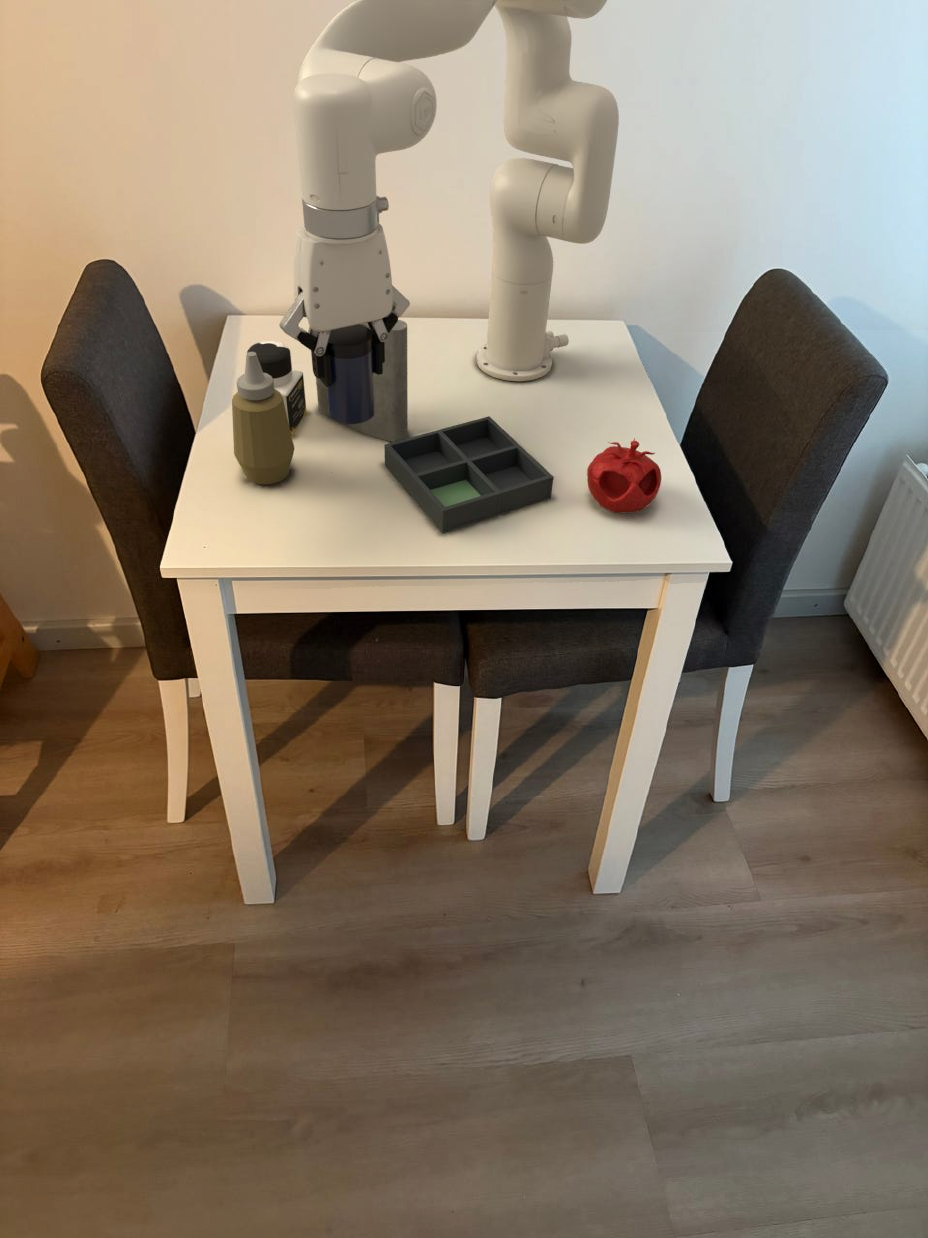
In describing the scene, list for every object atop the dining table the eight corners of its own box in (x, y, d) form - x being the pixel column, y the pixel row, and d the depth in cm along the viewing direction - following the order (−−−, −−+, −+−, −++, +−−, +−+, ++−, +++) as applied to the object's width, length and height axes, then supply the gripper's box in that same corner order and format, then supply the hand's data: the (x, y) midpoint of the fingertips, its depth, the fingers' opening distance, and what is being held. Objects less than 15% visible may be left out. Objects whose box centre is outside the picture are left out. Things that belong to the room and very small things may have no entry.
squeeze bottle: (270, 497, 120) (253, 376, 107) (225, 477, 123) (204, 357, 110) (308, 469, 125) (297, 350, 112) (264, 450, 128) (248, 332, 115)
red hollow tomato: (578, 478, 126) (587, 421, 120) (647, 478, 127) (660, 421, 120) (590, 521, 119) (600, 463, 113) (663, 521, 120) (677, 463, 113)
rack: (487, 437, 133) (489, 415, 130) (551, 498, 122) (554, 476, 120) (384, 465, 126) (384, 444, 124) (442, 533, 116) (442, 511, 113)
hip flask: (411, 435, 132) (411, 305, 118) (395, 447, 130) (394, 316, 116) (327, 401, 138) (318, 274, 124) (310, 413, 136) (299, 284, 122)
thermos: (363, 395, 110) (359, 318, 103) (382, 417, 106) (380, 339, 99) (321, 405, 108) (314, 328, 101) (339, 428, 104) (334, 350, 97)
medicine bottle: (291, 437, 130) (283, 362, 122) (245, 430, 131) (234, 355, 123) (307, 412, 136) (300, 339, 127) (262, 406, 136) (253, 332, 128)
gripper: (399, 191, 96) (401, 346, 109) (247, 215, 90) (268, 376, 103) (431, 215, 92) (430, 374, 105) (273, 243, 86) (292, 408, 98)
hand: (349, 373), depth 104 cm, fingers closed on thermos, 5 cm apart
